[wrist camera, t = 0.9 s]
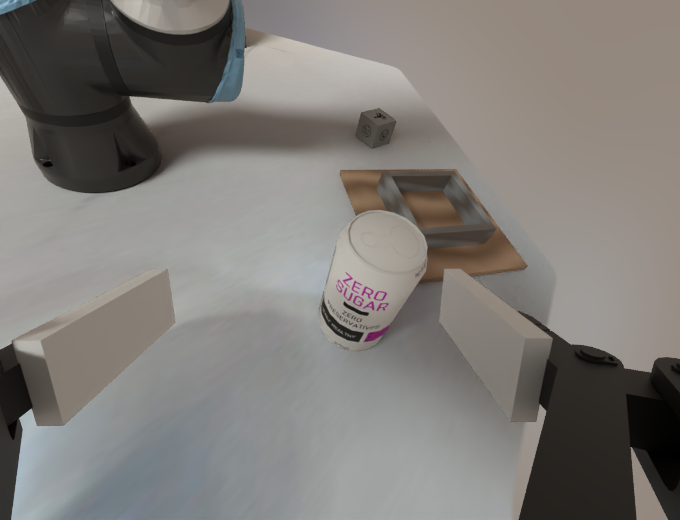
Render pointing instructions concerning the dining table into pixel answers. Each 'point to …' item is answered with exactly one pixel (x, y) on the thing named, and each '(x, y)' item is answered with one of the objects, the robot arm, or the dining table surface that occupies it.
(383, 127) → the dice cube
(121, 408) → the dining table surface
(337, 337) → the supplement can
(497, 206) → the dining table surface
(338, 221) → the dining table surface
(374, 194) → the collar board
